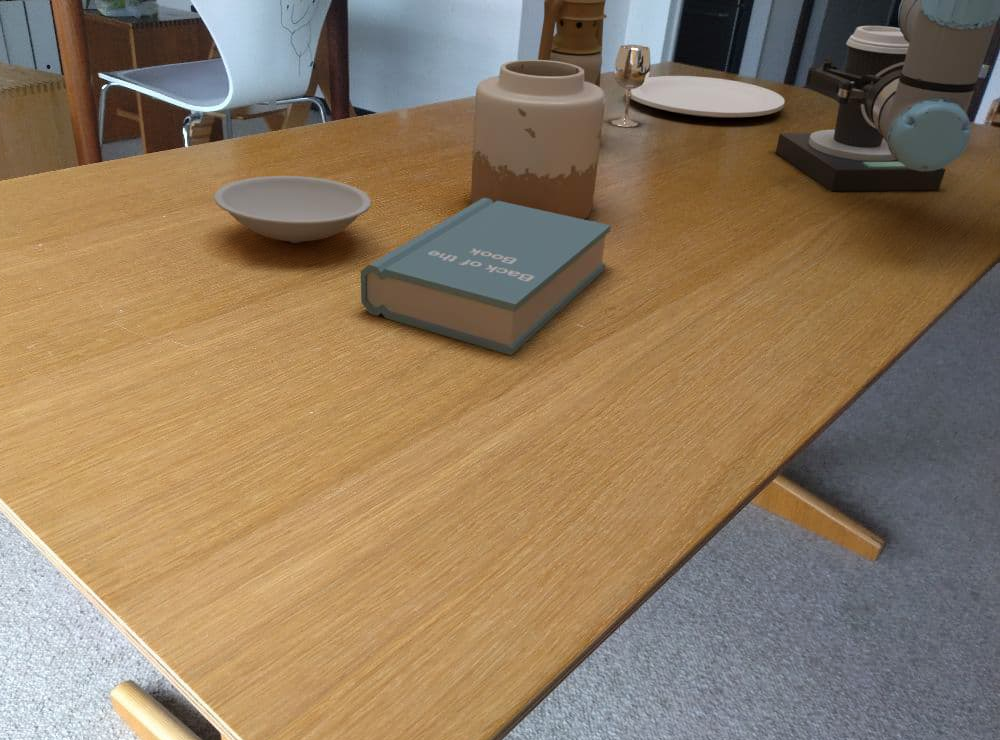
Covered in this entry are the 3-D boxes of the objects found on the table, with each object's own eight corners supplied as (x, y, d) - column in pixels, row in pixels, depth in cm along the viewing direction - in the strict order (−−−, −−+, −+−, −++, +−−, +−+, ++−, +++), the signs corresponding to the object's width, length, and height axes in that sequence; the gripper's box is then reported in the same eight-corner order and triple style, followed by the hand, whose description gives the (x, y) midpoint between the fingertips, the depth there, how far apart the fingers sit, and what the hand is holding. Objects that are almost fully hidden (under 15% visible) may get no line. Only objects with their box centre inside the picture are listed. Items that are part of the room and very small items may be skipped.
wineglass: (614, 128, 144) (624, 51, 138) (602, 119, 149) (611, 44, 142) (647, 127, 145) (658, 50, 139) (634, 118, 150) (644, 44, 144)
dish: (190, 249, 95) (184, 204, 93) (261, 208, 107) (258, 167, 104) (335, 278, 90) (333, 232, 88) (393, 232, 102) (393, 189, 99)
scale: (938, 190, 122) (948, 161, 120) (831, 191, 120) (839, 162, 118) (871, 152, 137) (879, 126, 135) (775, 152, 135) (781, 126, 133)
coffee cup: (885, 135, 131) (917, 27, 123) (897, 153, 123) (932, 39, 115) (818, 129, 132) (845, 22, 124) (826, 146, 124) (855, 33, 116)
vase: (450, 214, 107) (454, 71, 98) (499, 180, 119) (507, 49, 110) (567, 238, 102) (584, 89, 93) (607, 200, 114) (624, 64, 105)
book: (511, 355, 78) (515, 304, 75) (361, 311, 84) (360, 262, 81) (604, 269, 95) (610, 225, 92) (474, 238, 101) (476, 195, 98)
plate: (808, 109, 160) (811, 96, 159) (733, 136, 143) (736, 121, 141) (676, 81, 176) (678, 69, 175) (593, 102, 159) (595, 89, 157)
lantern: (552, 126, 144) (571, -83, 128) (612, 136, 140) (639, -78, 124) (512, 147, 133) (528, -79, 116) (576, 159, 128) (601, -73, 112)
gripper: (790, 129, 109) (778, 92, 127) (1006, 148, 105) (962, 107, 123) (805, 65, 105) (790, 36, 123) (1030, 83, 101) (981, 50, 119)
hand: (876, 72), depth 123 cm, fingers open, 13 cm apart
